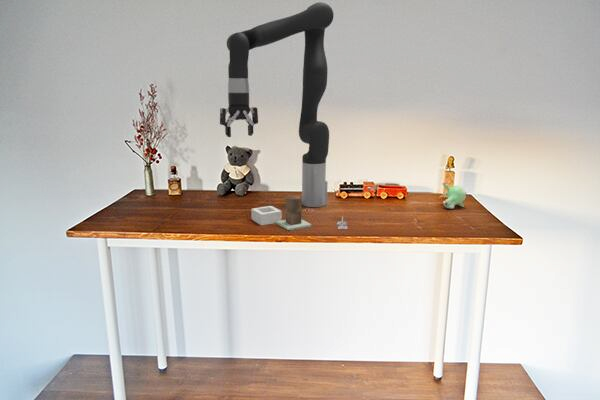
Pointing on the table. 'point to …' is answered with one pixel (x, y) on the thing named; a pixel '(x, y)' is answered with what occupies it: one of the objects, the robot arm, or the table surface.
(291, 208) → the walnut block
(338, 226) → the grey eared piece
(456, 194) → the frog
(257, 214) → the pocket holder
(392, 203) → the table surface
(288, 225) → the green mat
